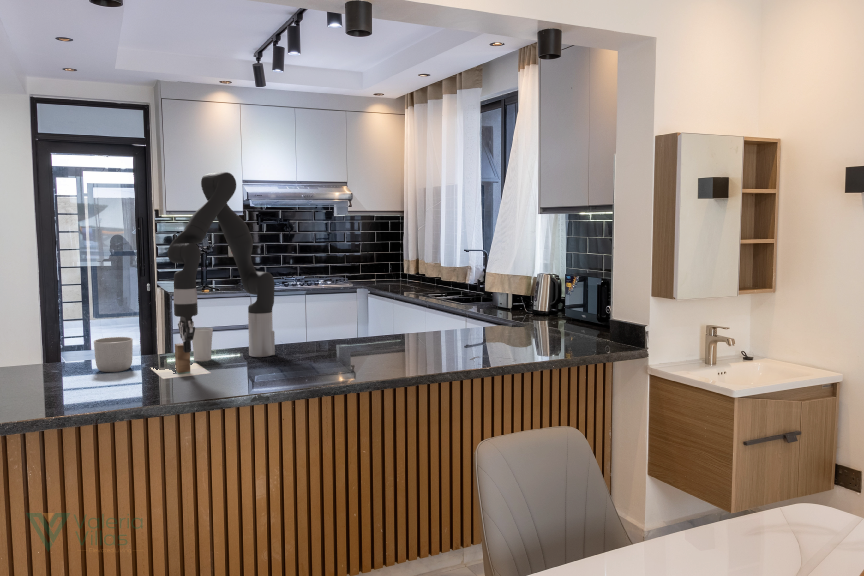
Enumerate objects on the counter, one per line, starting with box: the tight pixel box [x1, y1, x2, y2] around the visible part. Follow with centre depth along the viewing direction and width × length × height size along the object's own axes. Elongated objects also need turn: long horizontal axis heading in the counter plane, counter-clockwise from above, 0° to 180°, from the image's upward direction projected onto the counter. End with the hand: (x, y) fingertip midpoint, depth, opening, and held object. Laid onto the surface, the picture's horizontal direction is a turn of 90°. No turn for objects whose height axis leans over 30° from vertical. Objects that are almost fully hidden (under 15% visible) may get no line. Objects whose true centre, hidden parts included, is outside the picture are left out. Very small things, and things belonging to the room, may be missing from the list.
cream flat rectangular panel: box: [150, 362, 211, 380], centre depth 236 cm, size 16×20×1 cm
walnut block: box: [174, 342, 191, 374], centre depth 232 cm, size 4×4×10 cm
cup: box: [191, 326, 214, 362], centre depth 254 cm, size 8×8×12 cm
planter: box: [93, 336, 134, 373], centre depth 236 cm, size 12×12×11 cm
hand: (187, 352), depth 227 cm, fingers closed
